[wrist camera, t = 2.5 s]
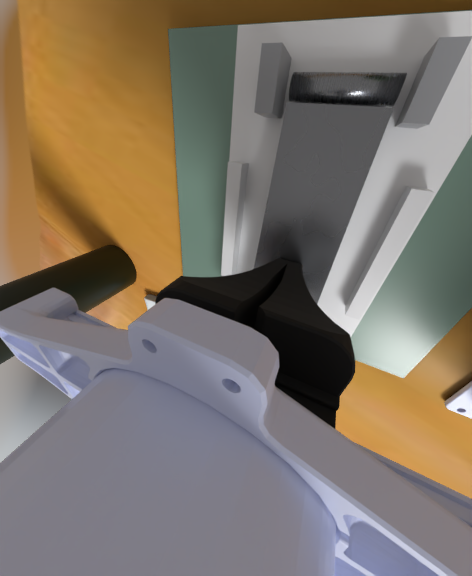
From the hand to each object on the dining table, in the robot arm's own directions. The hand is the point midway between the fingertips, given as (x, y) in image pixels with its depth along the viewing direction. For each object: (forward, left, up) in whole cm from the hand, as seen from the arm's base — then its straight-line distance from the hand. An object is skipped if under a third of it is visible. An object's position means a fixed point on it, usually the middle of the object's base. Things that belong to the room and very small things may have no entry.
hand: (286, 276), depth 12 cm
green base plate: (0, -1, -6) cm, 6 cm away
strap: (0, 0, -1) cm, 1 cm away
